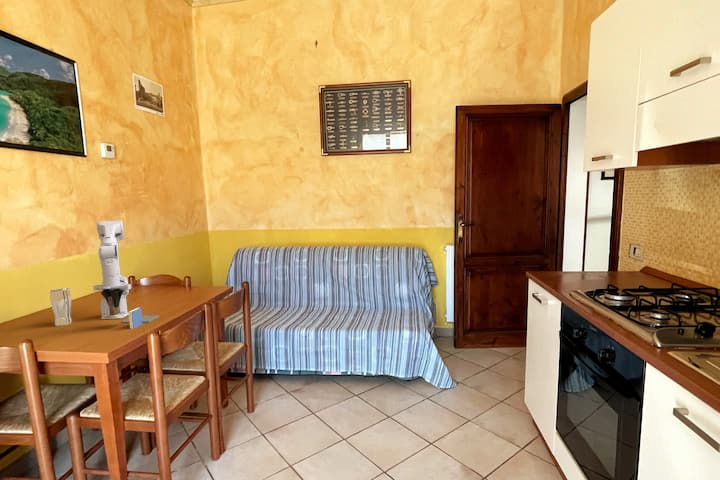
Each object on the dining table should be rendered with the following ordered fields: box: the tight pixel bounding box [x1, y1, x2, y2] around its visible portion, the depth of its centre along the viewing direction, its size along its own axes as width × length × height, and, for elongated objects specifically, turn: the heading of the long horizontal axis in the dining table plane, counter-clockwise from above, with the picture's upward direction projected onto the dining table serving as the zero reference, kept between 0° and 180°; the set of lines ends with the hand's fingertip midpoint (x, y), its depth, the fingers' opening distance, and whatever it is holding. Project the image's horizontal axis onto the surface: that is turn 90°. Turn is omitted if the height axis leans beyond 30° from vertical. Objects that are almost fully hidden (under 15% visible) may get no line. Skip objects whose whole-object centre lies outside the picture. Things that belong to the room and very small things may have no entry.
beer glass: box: [49, 287, 73, 327], centre depth 162 cm, size 7×7×15 cm
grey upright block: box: [104, 296, 126, 318], centre depth 156 cm, size 5×6×9 cm
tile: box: [128, 307, 144, 330], centre depth 157 cm, size 2×6×7 cm, turn 179°
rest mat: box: [120, 315, 160, 324], centre depth 165 cm, size 12×8×1 cm, turn 89°
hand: (114, 306), depth 156 cm, fingers closed on grey upright block
